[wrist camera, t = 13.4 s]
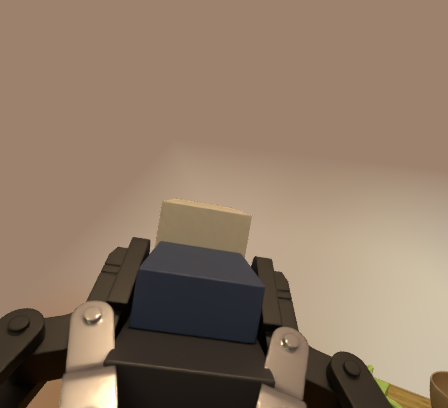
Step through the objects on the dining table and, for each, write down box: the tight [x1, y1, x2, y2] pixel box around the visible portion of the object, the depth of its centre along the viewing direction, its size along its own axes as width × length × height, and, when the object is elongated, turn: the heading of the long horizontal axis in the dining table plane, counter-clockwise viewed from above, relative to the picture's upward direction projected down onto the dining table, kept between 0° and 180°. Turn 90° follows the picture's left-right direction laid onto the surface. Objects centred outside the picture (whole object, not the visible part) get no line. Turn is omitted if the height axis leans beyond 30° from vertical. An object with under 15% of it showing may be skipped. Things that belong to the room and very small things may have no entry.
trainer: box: [103, 198, 275, 408], centre depth 17 cm, size 18×5×6 cm, turn 5°
